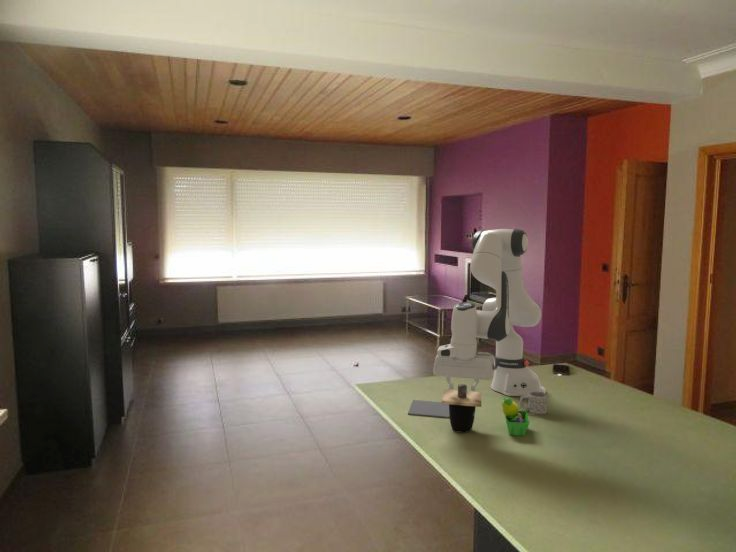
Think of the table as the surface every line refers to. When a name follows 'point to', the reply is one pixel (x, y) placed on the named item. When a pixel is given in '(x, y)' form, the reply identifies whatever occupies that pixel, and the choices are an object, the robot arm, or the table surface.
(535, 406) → the mug
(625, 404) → the table surface
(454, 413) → the mug
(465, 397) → the lid
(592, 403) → the table surface
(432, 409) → the mat
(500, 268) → the robot arm
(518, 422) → the fruit basket
